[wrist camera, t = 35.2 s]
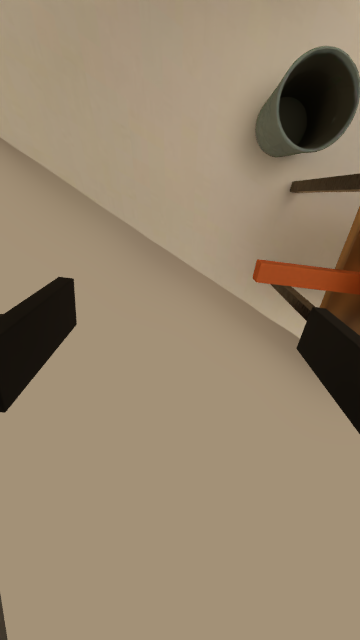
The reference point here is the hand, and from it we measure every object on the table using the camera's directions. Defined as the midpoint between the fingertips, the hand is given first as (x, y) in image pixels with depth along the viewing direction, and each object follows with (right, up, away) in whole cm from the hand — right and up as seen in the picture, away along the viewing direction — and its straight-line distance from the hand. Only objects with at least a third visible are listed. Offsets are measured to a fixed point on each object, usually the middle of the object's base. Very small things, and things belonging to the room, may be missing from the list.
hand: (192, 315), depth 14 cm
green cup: (+16, +31, +28) cm, 45 cm away
